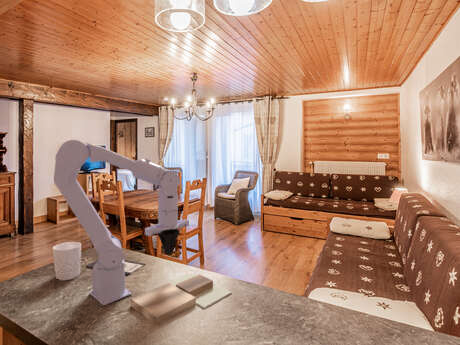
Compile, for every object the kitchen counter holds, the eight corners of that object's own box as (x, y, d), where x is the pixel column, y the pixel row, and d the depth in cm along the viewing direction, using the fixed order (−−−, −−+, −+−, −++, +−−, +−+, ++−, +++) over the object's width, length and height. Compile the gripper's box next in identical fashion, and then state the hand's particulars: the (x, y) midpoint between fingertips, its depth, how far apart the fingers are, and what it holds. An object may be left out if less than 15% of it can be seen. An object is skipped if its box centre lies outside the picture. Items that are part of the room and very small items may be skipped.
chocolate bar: (105, 256, 104) (145, 263, 98) (105, 259, 104) (145, 266, 98) (85, 265, 96) (127, 274, 90) (85, 268, 96) (127, 276, 90)
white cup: (75, 268, 95) (74, 240, 94) (86, 274, 90) (85, 244, 89) (49, 276, 88) (48, 246, 88) (60, 284, 84) (59, 251, 83)
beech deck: (130, 305, 72) (130, 298, 72) (169, 289, 81) (168, 282, 81) (156, 325, 64) (156, 317, 64) (195, 304, 73) (195, 297, 73)
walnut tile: (175, 291, 79) (175, 284, 79) (199, 280, 86) (199, 274, 86) (189, 298, 75) (189, 291, 75) (212, 287, 82) (212, 280, 82)
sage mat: (163, 285, 83) (163, 284, 83) (190, 274, 91) (190, 273, 91) (204, 308, 71) (204, 307, 71) (231, 293, 79) (231, 292, 79)
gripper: (154, 215, 75) (155, 264, 76) (195, 208, 86) (195, 250, 87) (140, 211, 80) (141, 257, 81) (181, 204, 90) (181, 245, 91)
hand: (168, 253), depth 84 cm, fingers closed
